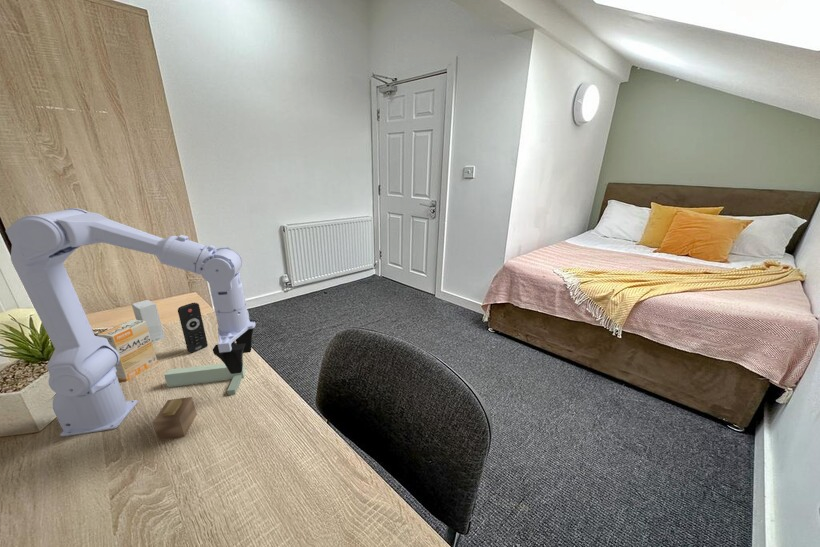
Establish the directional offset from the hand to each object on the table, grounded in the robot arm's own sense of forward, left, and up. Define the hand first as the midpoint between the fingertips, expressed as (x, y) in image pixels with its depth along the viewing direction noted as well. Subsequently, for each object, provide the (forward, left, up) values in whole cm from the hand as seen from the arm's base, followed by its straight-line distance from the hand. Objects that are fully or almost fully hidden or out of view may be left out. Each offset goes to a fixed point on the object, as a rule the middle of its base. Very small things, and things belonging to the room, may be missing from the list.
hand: (241, 361), depth 68 cm
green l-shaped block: (-11, +9, -10) cm, 18 cm away
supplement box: (-31, +17, -10) cm, 37 cm away
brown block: (-12, -6, -10) cm, 17 cm away
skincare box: (-35, +34, -10) cm, 50 cm away
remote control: (-19, +24, -10) cm, 32 cm away
